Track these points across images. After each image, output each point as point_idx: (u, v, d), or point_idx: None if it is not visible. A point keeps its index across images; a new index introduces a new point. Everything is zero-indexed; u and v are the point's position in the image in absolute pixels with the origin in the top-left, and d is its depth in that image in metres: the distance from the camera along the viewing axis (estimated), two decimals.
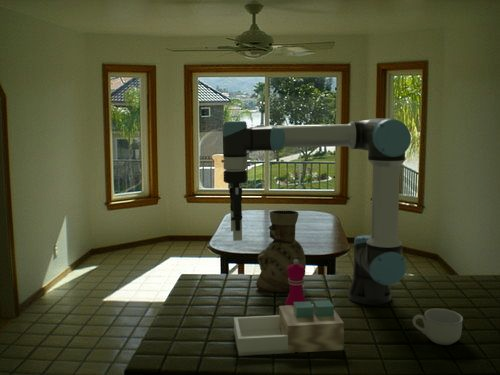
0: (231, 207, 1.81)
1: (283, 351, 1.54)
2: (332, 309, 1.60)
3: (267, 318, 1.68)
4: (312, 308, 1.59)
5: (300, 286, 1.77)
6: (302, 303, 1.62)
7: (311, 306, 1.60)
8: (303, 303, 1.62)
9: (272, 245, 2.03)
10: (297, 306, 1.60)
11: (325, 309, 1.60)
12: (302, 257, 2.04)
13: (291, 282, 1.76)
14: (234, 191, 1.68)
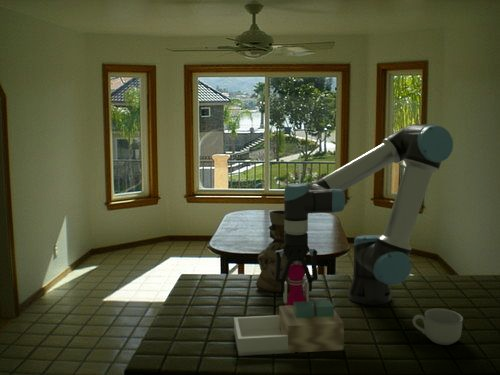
0: None
1: (283, 351, 1.54)
2: (332, 309, 1.60)
3: (267, 318, 1.68)
4: (312, 308, 1.59)
5: (300, 286, 1.77)
6: (302, 303, 1.62)
7: (311, 306, 1.60)
8: (303, 303, 1.62)
9: (272, 245, 2.03)
10: (297, 306, 1.60)
11: (325, 309, 1.60)
12: None
13: (291, 282, 1.76)
14: (275, 254, 1.77)
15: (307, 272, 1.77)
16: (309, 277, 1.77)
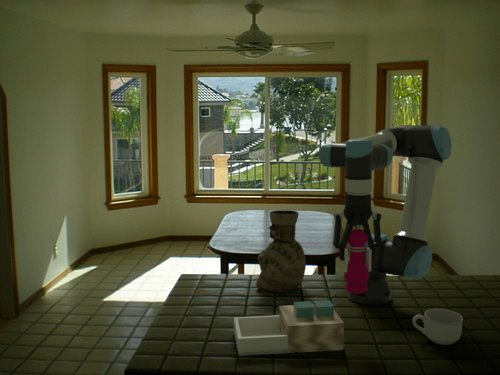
0: (367, 240, 1.62)
1: (283, 351, 1.54)
2: (332, 309, 1.60)
3: (267, 318, 1.68)
4: (312, 308, 1.59)
5: (362, 253, 1.59)
6: (302, 303, 1.62)
7: (311, 306, 1.60)
8: (303, 303, 1.62)
9: (272, 245, 2.03)
10: (297, 306, 1.60)
11: (325, 309, 1.60)
12: (302, 257, 2.04)
13: (352, 249, 1.59)
14: (335, 217, 1.59)
15: (370, 238, 1.59)
16: (372, 244, 1.60)
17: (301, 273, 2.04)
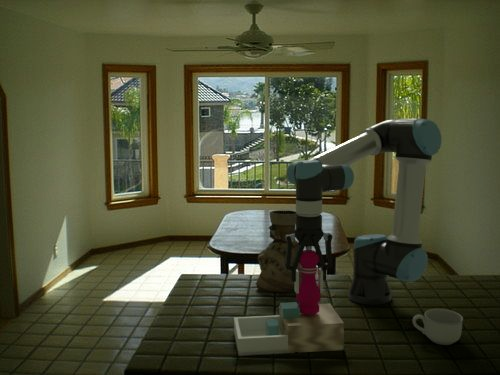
0: (319, 261, 1.61)
1: (283, 351, 1.54)
2: (298, 311, 1.59)
3: (267, 318, 1.68)
4: (269, 326, 1.59)
5: (313, 274, 1.59)
6: (266, 329, 1.62)
7: (268, 326, 1.59)
8: (266, 328, 1.62)
9: (272, 245, 2.03)
10: None
11: (291, 311, 1.59)
12: None
13: (303, 270, 1.58)
14: (286, 238, 1.59)
15: (321, 259, 1.59)
16: (324, 265, 1.59)
17: (301, 273, 2.04)
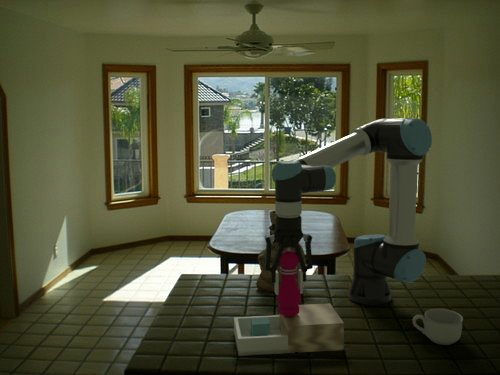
0: (299, 262, 1.61)
1: (283, 351, 1.54)
2: (268, 326, 1.58)
3: None
4: None
5: (293, 276, 1.58)
6: None
7: None
8: None
9: (272, 245, 2.03)
10: None
11: (261, 326, 1.58)
12: None
13: (283, 271, 1.58)
14: None
15: (301, 260, 1.58)
16: (303, 266, 1.59)
17: None
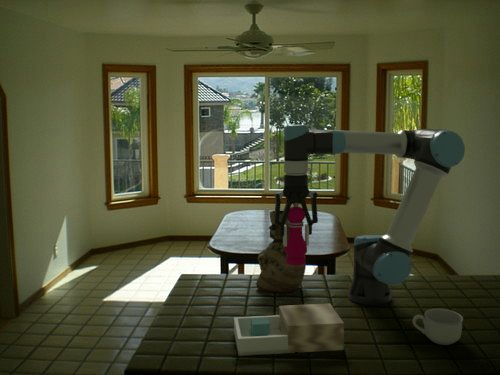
0: (305, 217, 1.77)
1: (283, 351, 1.54)
2: (268, 326, 1.58)
3: None
4: None
5: (300, 229, 1.74)
6: None
7: None
8: None
9: (272, 245, 2.03)
10: None
11: (261, 326, 1.58)
12: None
13: (291, 224, 1.74)
14: (275, 196, 1.74)
15: (307, 215, 1.74)
16: (309, 220, 1.74)
17: (301, 273, 2.04)
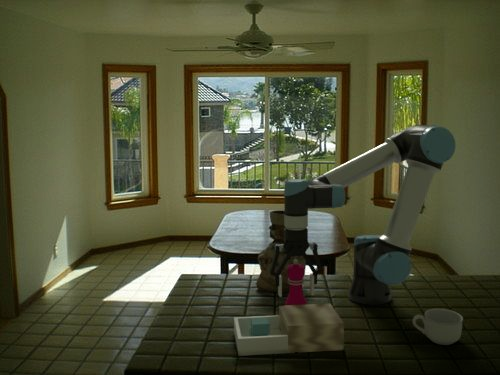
0: None
1: (283, 351, 1.54)
2: (268, 326, 1.58)
3: None
4: None
5: (300, 286, 1.77)
6: None
7: None
8: None
9: (272, 245, 2.03)
10: None
11: (261, 326, 1.58)
12: (302, 257, 2.04)
13: (291, 282, 1.76)
14: None
15: (311, 266, 1.77)
16: (314, 270, 1.77)
17: None
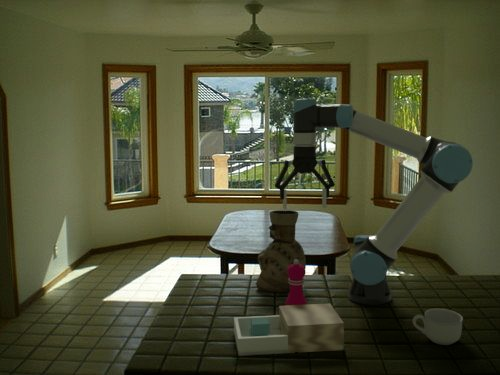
0: None
1: (283, 351, 1.54)
2: (268, 326, 1.58)
3: None
4: None
5: (300, 286, 1.77)
6: None
7: None
8: None
9: (272, 245, 2.03)
10: None
11: (261, 326, 1.58)
12: (302, 257, 2.04)
13: (291, 282, 1.76)
14: (284, 163, 1.84)
15: (322, 180, 1.84)
16: (326, 184, 1.85)
17: None
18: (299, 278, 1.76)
